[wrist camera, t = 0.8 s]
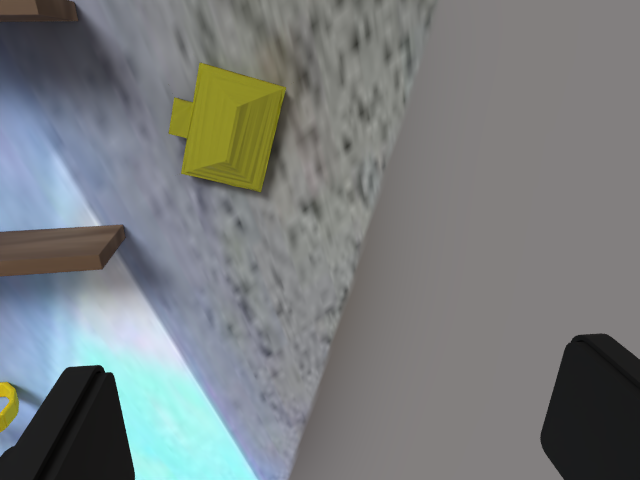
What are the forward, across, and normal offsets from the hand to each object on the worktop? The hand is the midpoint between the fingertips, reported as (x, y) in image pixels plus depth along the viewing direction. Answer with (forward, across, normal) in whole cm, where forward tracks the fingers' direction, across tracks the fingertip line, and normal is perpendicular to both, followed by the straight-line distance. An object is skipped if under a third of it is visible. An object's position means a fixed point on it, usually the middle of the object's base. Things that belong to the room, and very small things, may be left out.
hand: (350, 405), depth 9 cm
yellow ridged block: (+24, +4, -2) cm, 25 cm away
